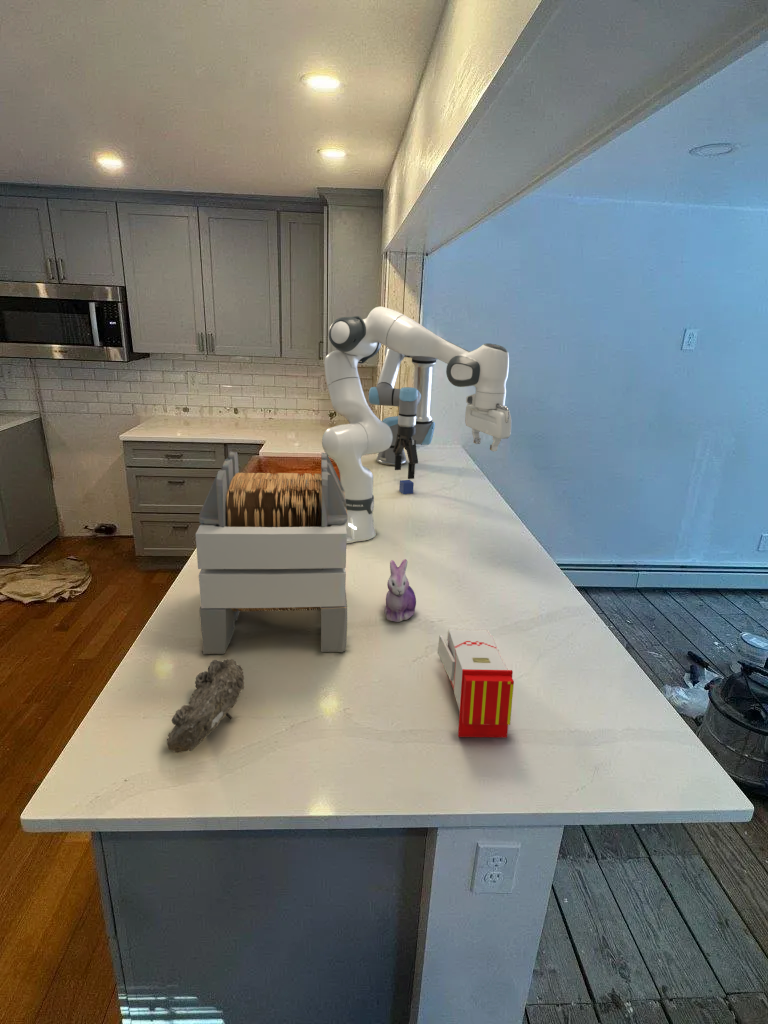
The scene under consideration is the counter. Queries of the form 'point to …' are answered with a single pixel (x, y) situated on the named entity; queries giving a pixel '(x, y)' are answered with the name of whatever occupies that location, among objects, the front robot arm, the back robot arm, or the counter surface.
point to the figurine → (399, 594)
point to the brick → (406, 487)
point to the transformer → (272, 550)
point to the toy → (478, 682)
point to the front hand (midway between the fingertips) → (484, 447)
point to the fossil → (206, 705)
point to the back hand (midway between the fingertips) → (404, 474)
